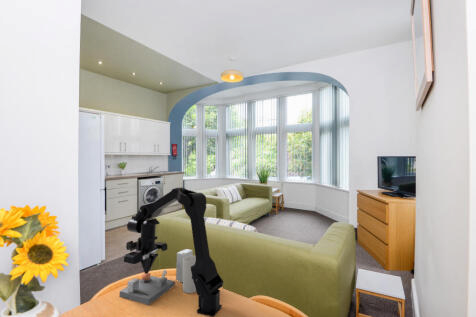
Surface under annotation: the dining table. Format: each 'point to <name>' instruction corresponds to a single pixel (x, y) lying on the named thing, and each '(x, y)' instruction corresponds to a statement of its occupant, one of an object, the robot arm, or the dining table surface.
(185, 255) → the skincare box
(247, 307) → the dining table surface
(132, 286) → the block
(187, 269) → the mug
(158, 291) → the control panel
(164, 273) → the toggle lever
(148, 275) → the push button
